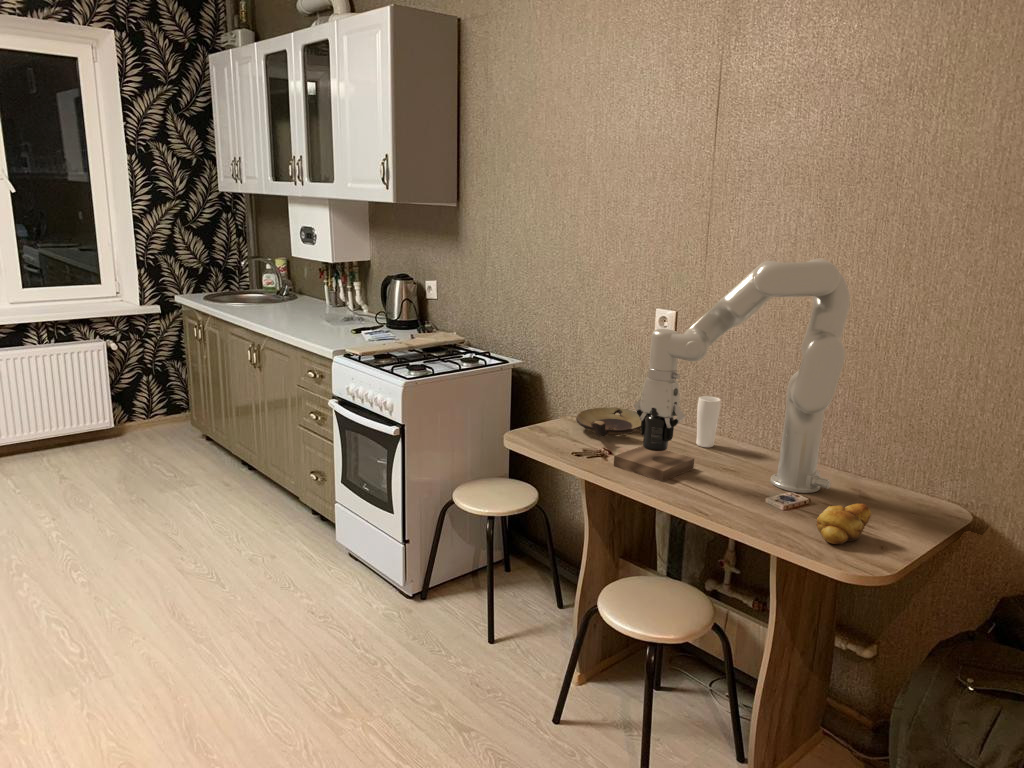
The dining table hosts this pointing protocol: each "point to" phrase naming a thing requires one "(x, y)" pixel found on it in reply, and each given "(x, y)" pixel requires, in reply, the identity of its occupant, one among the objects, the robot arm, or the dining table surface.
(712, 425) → the drinking glass
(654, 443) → the supplement bottle
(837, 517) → the bread roll
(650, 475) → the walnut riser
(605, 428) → the olive brown shallow dish
